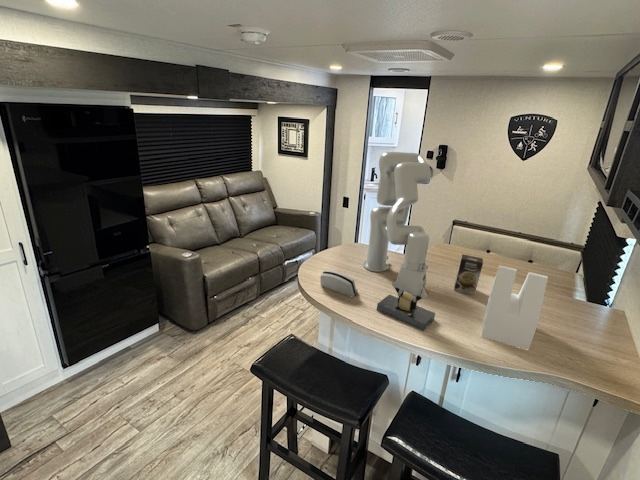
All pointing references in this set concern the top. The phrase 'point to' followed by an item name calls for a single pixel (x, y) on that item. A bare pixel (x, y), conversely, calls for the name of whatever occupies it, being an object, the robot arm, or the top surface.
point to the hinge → (338, 282)
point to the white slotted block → (514, 308)
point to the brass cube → (405, 301)
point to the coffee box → (468, 274)
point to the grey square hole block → (417, 318)
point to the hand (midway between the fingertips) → (406, 306)
